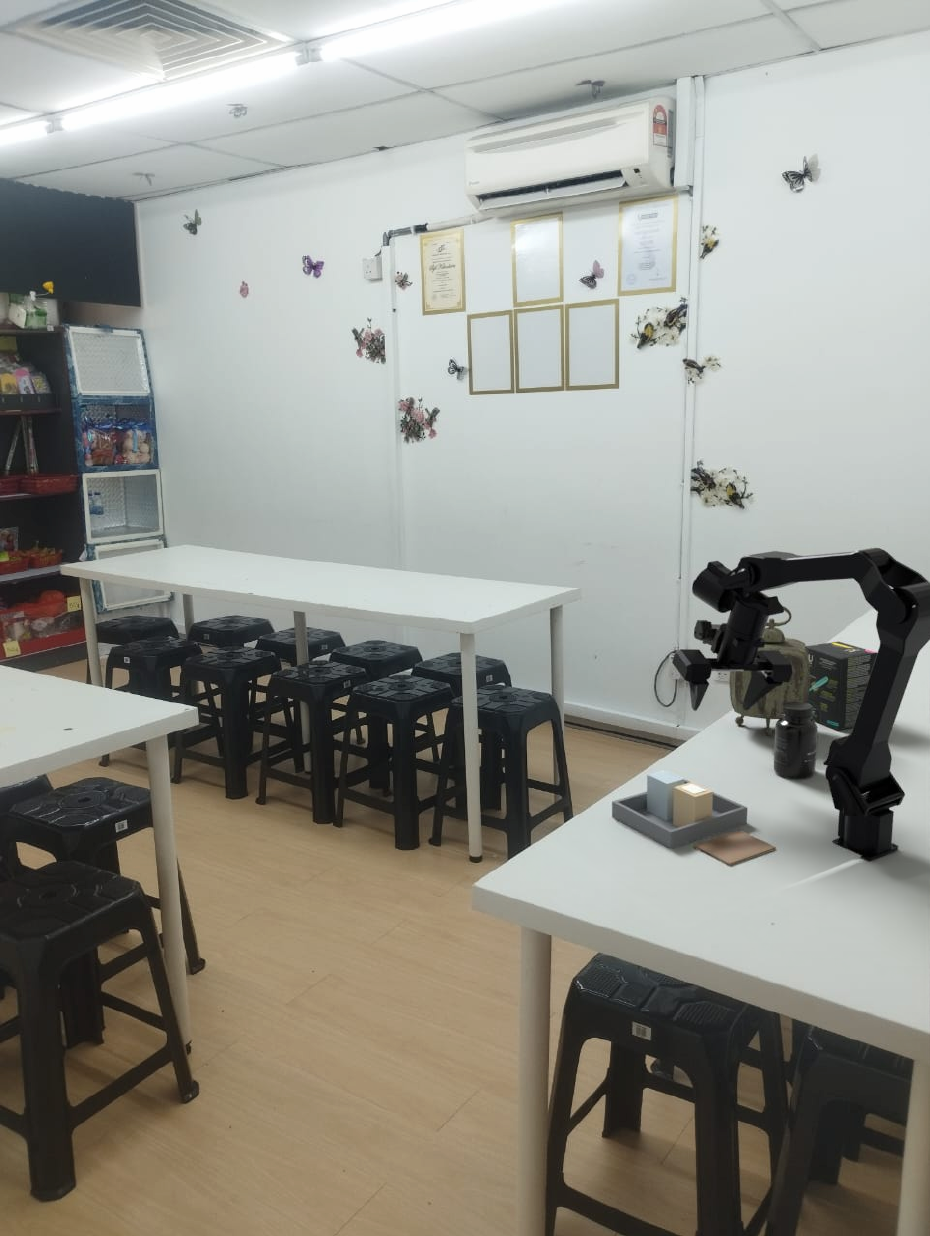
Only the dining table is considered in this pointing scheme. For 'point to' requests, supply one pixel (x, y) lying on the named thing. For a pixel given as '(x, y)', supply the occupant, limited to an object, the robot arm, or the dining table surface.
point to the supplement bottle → (795, 742)
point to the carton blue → (662, 793)
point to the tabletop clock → (781, 694)
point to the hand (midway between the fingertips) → (719, 709)
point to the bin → (666, 832)
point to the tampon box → (838, 682)
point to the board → (734, 847)
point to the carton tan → (691, 804)
